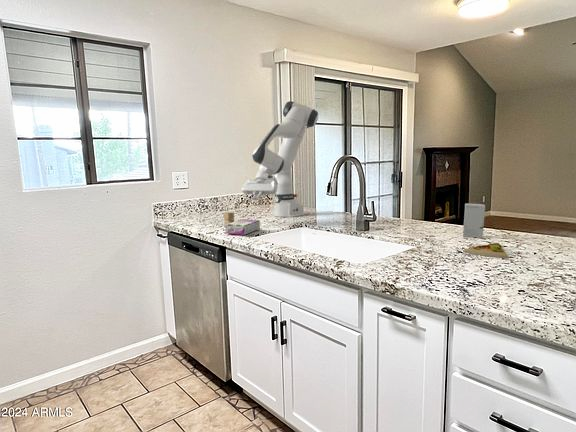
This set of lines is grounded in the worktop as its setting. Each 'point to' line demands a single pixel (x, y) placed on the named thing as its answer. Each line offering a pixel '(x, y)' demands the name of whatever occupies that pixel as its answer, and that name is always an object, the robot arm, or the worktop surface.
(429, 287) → the worktop surface
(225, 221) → the oak block
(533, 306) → the worktop surface
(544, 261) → the worktop surface
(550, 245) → the worktop surface
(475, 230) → the skincare box
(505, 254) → the pizza slice
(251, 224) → the candy bar box
